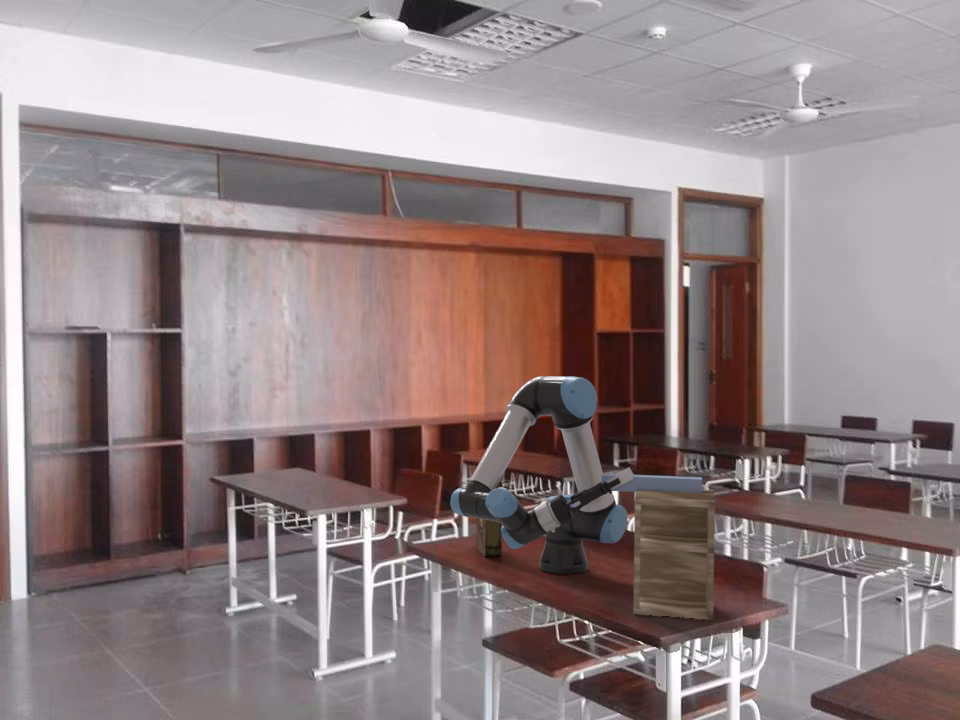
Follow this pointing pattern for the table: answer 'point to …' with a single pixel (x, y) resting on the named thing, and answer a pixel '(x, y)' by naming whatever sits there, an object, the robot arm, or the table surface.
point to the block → (658, 483)
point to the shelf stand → (674, 554)
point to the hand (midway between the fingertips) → (631, 473)
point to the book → (489, 535)
